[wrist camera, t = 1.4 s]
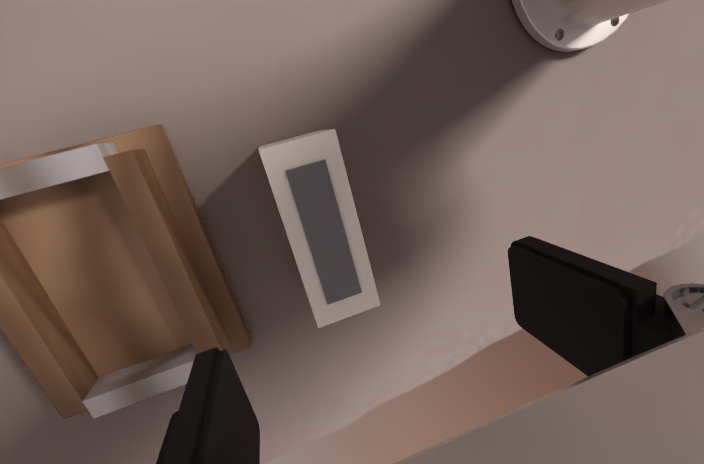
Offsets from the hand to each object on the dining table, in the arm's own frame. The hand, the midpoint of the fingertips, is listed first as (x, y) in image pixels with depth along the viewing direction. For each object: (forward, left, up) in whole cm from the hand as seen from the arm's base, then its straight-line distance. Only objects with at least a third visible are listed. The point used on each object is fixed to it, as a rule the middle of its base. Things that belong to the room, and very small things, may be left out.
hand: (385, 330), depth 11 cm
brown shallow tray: (+15, 0, -18) cm, 24 cm away
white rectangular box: (0, 0, -18) cm, 18 cm away
